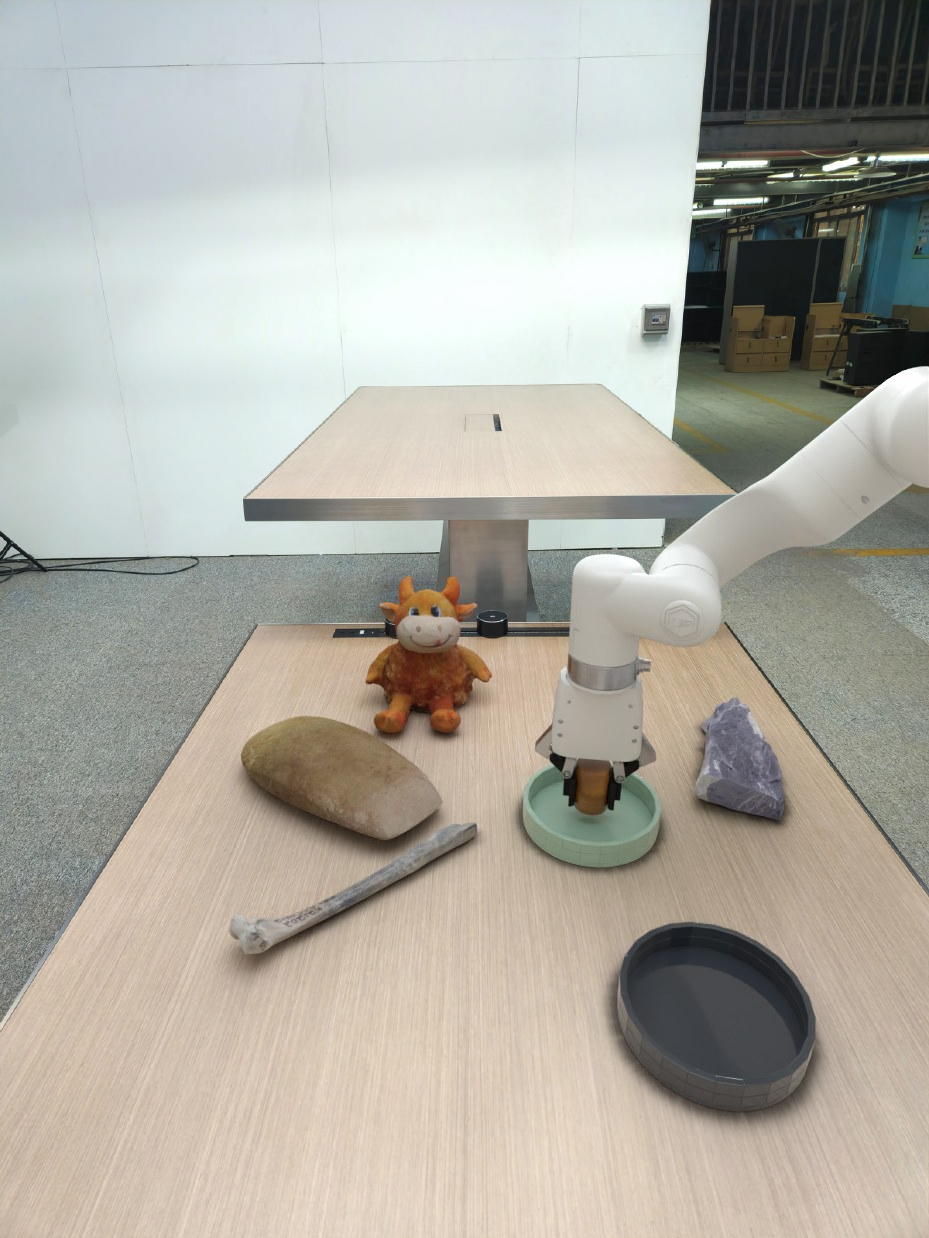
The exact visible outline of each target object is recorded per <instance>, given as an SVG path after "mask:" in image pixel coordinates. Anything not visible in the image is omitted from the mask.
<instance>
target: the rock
mask: <svg viewBox="0 0 929 1238" xmlns="http://www.w3.org/2000/svg"><path fill="white" fill-rule="evenodd" d="M700 727H701V729H702V730H703V731H704V733H705V734H706V735H705V736H704V749H705V750H704V755H703V756H704V757H703V759H702V760H703V761H702V765H701V769H700V771H699V775H698V778H697V780H696V783H695V788H694V795H695V797H696V799H701V800H703V801H705V802H708V803H712V804H717V805H719V806H722V807H725V808H727V809H729V810H734V811H738V812H743V813H747V814H751V815H755V816H759V817H760V816H761V817H765V818H767V819H771V820H775V821H781V819H782V815H783V813H784V811H785V796H784V788H783V783H782V779H783V772H782V769H781V767H780V763H779V759H778V756H777V755H776V754H775V753H774V751H773V749H772V746H771V745H770V743H769V742H768V741H767V739H766V737H765V735H764V733H763V731H762V729H761V728H760V726H759V724H758V722H757V720H756V719H755V718H754V716H753V715H752V712H751V708H750V706H749V705H747V704H746V703H742V701H741V699H740V698H739V697H738V696H737V697H731V698H730V699H729V700H728V701H727V702H721V703H718V704H716V705H715V709H714V711H713V712H712V714H711V715H709V716H708V717H707V718H706V719H704V721H703V722H702V723H701V724H700Z"/></svg>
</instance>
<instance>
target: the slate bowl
mask: <svg viewBox="0 0 929 1238" xmlns="http://www.w3.org/2000/svg"><path fill="white" fill-rule="evenodd" d="M616 993H617V994H616V995H617V996H616V997H617V1000H616V1001H617V1002H616V1003H617V1006H616V1009H617V1017H618V1022H619V1026H620V1029H621V1031H622V1035H623V1036H624V1039H625V1041H626V1043H627V1045H628V1047H629V1048H630V1050H631V1052H632V1053H633V1055H634V1056H635V1058H636V1059H637V1060H638V1062H639V1063H640V1064H641V1065H642V1066H643V1067H644V1068H645V1070H646V1071H647V1072H648V1073H649V1074H650V1075H651V1076H652V1077H654V1079H656V1080H657V1081H658V1082H660V1083H661V1084H662V1085H663V1086H665V1087H666V1088H667V1089H670V1091H672V1092H673V1093H675V1094H677V1095H679V1096H681V1097H682V1098H684V1099H687V1100H688V1101H691V1102H693V1103H696V1104H697V1105H700V1106H704V1107H707V1108H711V1109H716V1110H720V1111H726V1112H738V1113H739V1112H740V1113H741V1112H754V1111H759V1110H763V1109H766V1108H770V1107H772V1106H775V1105H777V1104H778V1103H780V1102H782V1101H784V1100H786V1099H787V1098H788V1097H789V1096H790V1095H791V1094H793V1093H794V1091H796V1089H797V1088H798V1086H800V1085H801V1082H802V1081H803V1079H804V1077H805V1074H806V1071H807V1068H808V1066H809V1063H810V1060H811V1057H812V1053H813V1051H814V1046H815V1043H816V1037H817V1036H816V1031H817V1030H816V1029H817V1028H816V1027H817V1025H816V1022H817V1021H816V1020H817V1019H816V1018H817V1017H816V1014H815V1010H814V1008H813V1005H812V1004H813V1003H812V1001H811V998H810V995H809V993H808V992H807V990H806V989H805V987H804V985H803V983H802V982H801V980H800V979H799V977H798V976H797V974H796V973H795V972H794V970H792V969H791V968H790V967H789V966H788V965H787V964H786V962H785V961H784V960H783V959H782V958H781V957H780V956H778V955H777V954H776V953H774V952H773V951H772V950H771V949H769V948H768V947H766V946H765V945H764V944H762V943H760V941H758V940H755V938H752V937H749V936H748V935H746V934H743V933H742V932H740V931H738V930H735V929H730V928H728V927H724V926H721V925H717V924H714V923H706V922H699V921H698V922H697V921H682V922H671V923H667V924H664V925H661V926H658V927H656V928H653V929H651V930H649V931H647V932H646V933H644V934H643V935H641V936H639V938H637V939H636V940H635V941H634V942H633V944H632V945H631V946H630V948H629V949H628V950H627V952H626V953H625V954H624V956H623V960H622V963H621V967H620V971H619V976H618V985H617V992H616Z"/></svg>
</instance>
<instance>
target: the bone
mask: <svg viewBox="0 0 929 1238" xmlns="http://www.w3.org/2000/svg"><path fill="white" fill-rule="evenodd" d="M477 833H478V825H477V823H476V822H467V823H464V824H459V823H453V824H450V825H448V826H445V827H443V828H440V829H439V830H437V831H436V832H435V833H433V834H432V835H431V836H429V837H428V838H426V839H425V840H423V841H422V842H420V843H418V844H417V845H416V846H414V847H413V848H412V849H410V850H409V851H407V852H405V853H404V854H402V855H401V856H400V857H398V858H396V859H395V860H393V861H392V862H390V863H389V864H387V865H386V866H384V867H382V868H380V869H379V870H377V871H376V872H374V873H372V874H370V875H369V876H367V877H366V878H363V879H362V880H360V881H358V882H356V883H354V884H352V885H351V886H349V887H347V888H345V889H343V890H341V891H339V892H337V893H335V894H334V895H332V896H330V897H327V898H325V899H323V900H322V901H319V902H317V903H315V904H314V905H311V906H309V907H307V908H305V909H304V908H303V909H302V910H300V911H298V912H295V913H292V914H290V915H289V914H288V915H286V916H283V917H280V918H279V917H278V918H272V919H269V918H264V917H256V918H252V919H250V920H248V919H247V917H246V916H243V915H234V916H233V917H232V918H231V921H230V925H229V927H228V933H229V935H230V936H231V938H233V939H234V940H237V941H239V945H240V948H241V950H242V952H243V953H244V954H246V955H253V954H255V955H256V954H261V953H263V952H265V951H266V952H267V951H268V950H269V949H270V948H272V946H275V945H276V944H279V943H281V942H283V941H285V940H287V939H289V938H291V937H293V936H295V935H297V934H300V933H301V932H303V931H304V930H307V929H308V928H311V927H313V926H314V925H316V924H318V923H320V922H323V921H324V920H326V919H327V920H328V919H329V918H331V917H333V916H335V915H337V914H338V913H340V912H342V911H344V910H346V909H348V908H349V907H352V906H354V905H356V904H357V903H359V902H361V901H363V900H365V899H367V898H368V897H370V896H372V895H374V894H376V893H377V892H379V891H381V890H383V889H385V888H387V887H388V886H389V885H391V884H393V883H395V882H397V881H399V880H401V879H403V878H404V877H406V876H408V875H410V874H412V873H414V872H416V871H418V870H419V869H420V868H422V867H423V866H425V865H426V864H428V863H430V862H431V861H434V860H436V859H437V858H439V857H440V856H442V855H443V854H446V853H447V852H449V851H451V850H453V849H455V848H456V847H459V846H461V845H463V844H464V843H466V842H468V841H470V840H471V839H472V838H474V837H475V836H476V834H477Z"/></svg>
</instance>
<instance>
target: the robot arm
mask: <svg viewBox="0 0 929 1238" xmlns="http://www.w3.org/2000/svg"><path fill="white" fill-rule="evenodd" d="M911 485H916V486H918V487H920V488H921V487H922V488H928V489H929V366H917V367H912V368H908V369H906V370H902V371H901V372H899V373H897V374H896V375H893V376H891V377H890V378H888V379H887V380H886V381H884V382H883V383H882V384H879V386H878V387H876V388H875V389H874V390H872V391H871V392H870V393H869V394H867V395H866V396H865V397H864V398H863V399H861V400H860V401H859V402H858V403H856V404H855V405H854V406H853V407H852V408H850V409H849V410H848V411H847V412H845V413H844V414H843V415H842V416H840V417H839V418H838V419H837V420H836V421H835V422H833V423H832V424H831V425H830V426H829V427H827V428H826V429H825V430H823V431H822V432H821V433H820V434H819V435H817V436H816V437H814V439H813V440H811V441H810V442H809V443H808V444H806V445H805V446H804V447H802V448H801V449H800V450H799V451H797V452H796V453H795V454H794V455H793V456H791V457H790V458H789V459H788V460H787V461H785V462H784V463H783V464H781V465H780V466H779V467H777V468H776V469H775V470H774V471H773V472H771V473H770V474H768V475H767V476H766V477H764V478H762V479H760V480H758V481H756V482H755V483H753V484H751V485H750V486H748V487H747V488H745V489H744V490H742V491H740V492H739V493H737V494H736V495H734V496H732V497H730V498H729V499H727V500H725V501H724V502H722V503H721V504H719V505H718V506H716V507H715V508H713V509H712V510H711V511H709V512H708V513H706V514H705V515H704V516H702V518H700V519H699V520H698V521H696V522H695V523H694V524H693V525H692V526H690V527H689V528H688V529H686V531H684V532H683V533H681V534H680V536H678V537H677V538H676V539H674V540H673V541H672V542H671V543H670V544H668V546H667V547H665V548H664V549H663V551H661V552H660V554H659V555H658V556H657V557H656V558H655V560H654V561H653V563H652V564H651V567H650V569H649V572H648V573H646V571H645V569H644V567H643V566H642V564H641V563H640V562H638V561H637V560H635V559H633V558H631V557H629V556H624V555H620V554H612V553H611V554H610V553H600V554H593V555H592V554H591V555H589V556H585V557H584V558H582V559H581V560H579V561H578V562H577V563H576V565H575V567H574V569H573V571H572V572H573V573H572V582H571V598H570V614H569V631H568V632H569V635H568V647H567V649H568V650H567V665H566V666H564V667H563V668H561V670H560V672H559V676H558V679H557V684H556V688H555V693H554V702H553V710H552V711H553V712H552V718H551V724H550V725H549V726H548V728H547V729H545V730H544V732H543V733H542V734H541V735H540V736H539V737H538V738H537V740H536V741H535V742H534V751H535V752H536V753H537V754H539V756H541V757H543V758H545V759H547V760H549V762H550V764H553V765H554V766H555V767H556V768H557V769H558V770H559V771H560V772H561V773H562V776H563V777H564V784H563V796H569V799H568V806H570V807H572V806H574V802H575V788H576V767H575V764H576V761H577V760H578V758H582V759H594V760H606V761H610V762H612V763H611V764H613V767H612V768H611V772H610V781H609V792H608V803H607V807H608V809H609V810H613V811H614V802H615V800H618V801H620V797H621V787H622V783H623V782H624V781H625V778H626V777H628V776H629V775H631V774H632V773H635V772H637V771H638V770H639V769H640V768H641V767H642V768H643V767H645V766H648V765H650V764H652V763H655V762H656V761H657V753H656V750H655V749H654V747H653V745H652V744H651V742H650V741H649V740H648V738H647V736H646V735H645V733H644V732H643V728H644V727H643V725H644V688H643V680H642V675H641V674H642V673H644V672H646V673H650V672H651V669H652V668H651V667H652V660H651V659H645V658H644V657H641V655H640V654H639V650H640V640H641V638H643V639H645V640H648V641H652V642H656V643H659V644H662V645H666V646H671V647H675V648H693V647H694V648H695V647H698V646H700V645H703V644H706V642H708V641H710V640H711V639H712V638H713V637H714V636H715V634H716V633H717V631H718V630H719V629H720V626H721V622H722V617H723V605H722V596H721V589H722V588H723V587H724V586H725V585H727V584H728V583H729V582H730V581H732V580H733V579H734V578H735V577H737V576H738V575H739V574H741V573H742V572H744V571H746V569H748V568H749V567H750V566H752V565H753V564H756V563H757V562H758V561H761V560H762V559H764V558H765V557H768V556H770V555H772V554H774V553H776V552H779V551H782V550H785V549H786V550H787V549H790V548H807V547H809V548H812V547H818V546H819V547H820V546H824V545H827V544H830V543H833V542H835V541H836V540H837V539H839V538H840V537H842V536H843V535H844V534H846V533H847V532H849V531H850V530H851V529H853V528H854V527H855V526H857V525H858V524H859V523H860V522H862V521H863V520H864V519H866V518H868V516H871V514H873V513H875V512H876V511H877V510H878V509H880V508H882V506H883V505H885V504H887V503H888V502H890V500H892V499H893V498H895V497H896V496H897V495H899V494H900V493H901V492H903V491H905V490H906V489H907V488H909V487H910V486H911ZM640 673H641V674H640Z"/></svg>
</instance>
